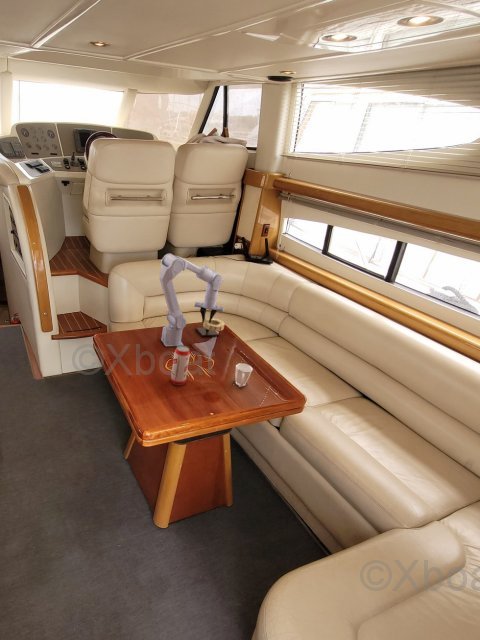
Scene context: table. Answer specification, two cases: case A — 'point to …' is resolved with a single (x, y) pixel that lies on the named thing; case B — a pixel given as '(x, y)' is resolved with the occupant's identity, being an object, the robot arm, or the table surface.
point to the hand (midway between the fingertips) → (206, 322)
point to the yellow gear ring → (217, 324)
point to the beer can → (180, 365)
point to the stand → (206, 332)
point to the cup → (242, 374)
